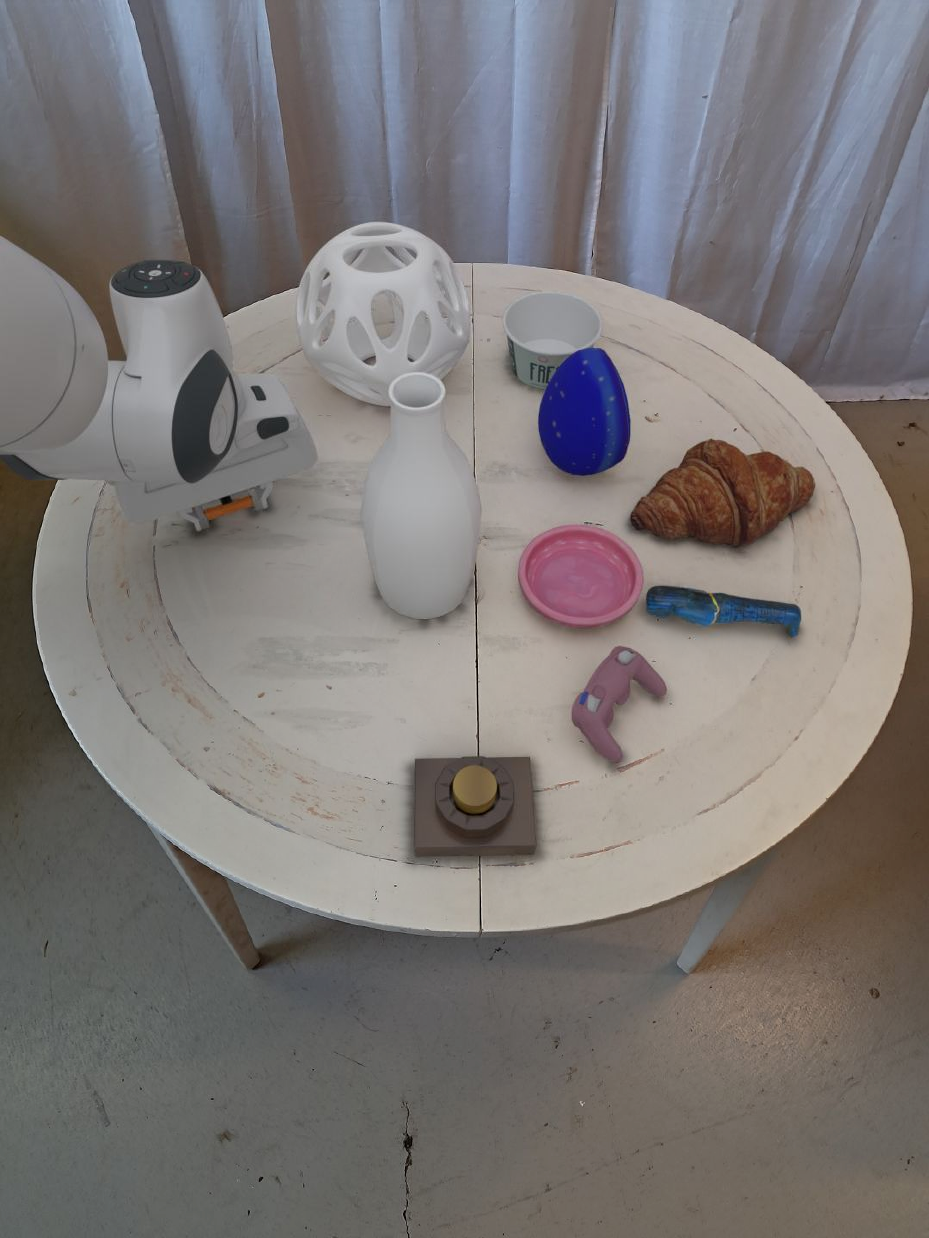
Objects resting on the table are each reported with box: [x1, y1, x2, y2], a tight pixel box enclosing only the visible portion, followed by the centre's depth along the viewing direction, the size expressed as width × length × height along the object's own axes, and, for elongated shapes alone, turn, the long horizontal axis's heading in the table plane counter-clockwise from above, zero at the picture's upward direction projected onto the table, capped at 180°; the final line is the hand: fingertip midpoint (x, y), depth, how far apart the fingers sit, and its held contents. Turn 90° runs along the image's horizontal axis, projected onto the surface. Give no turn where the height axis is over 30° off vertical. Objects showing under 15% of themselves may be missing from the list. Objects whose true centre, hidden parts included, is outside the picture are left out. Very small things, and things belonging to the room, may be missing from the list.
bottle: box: [359, 372, 483, 620], centre depth 79 cm, size 11×11×25 cm
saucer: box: [517, 523, 644, 629], centre depth 89 cm, size 12×12×3 cm
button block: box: [413, 755, 537, 858], centre depth 74 cm, size 10×8×4 cm
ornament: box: [537, 347, 632, 477], centre depth 94 cm, size 11×9×15 cm
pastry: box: [629, 438, 817, 548], centre depth 93 cm, size 17×15×8 cm
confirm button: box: [453, 765, 497, 814], centre depth 72 cm, size 4×4×2 cm
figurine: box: [645, 584, 802, 638], centre depth 87 cm, size 5×4×15 cm
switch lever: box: [203, 494, 253, 521], centre depth 93 cm, size 13×5×2 cm
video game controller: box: [570, 645, 668, 763], centre depth 80 cm, size 10×5×7 cm, turn 145°
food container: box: [501, 290, 604, 391], centre depth 107 cm, size 12×12×6 cm
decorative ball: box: [295, 221, 472, 408], centre depth 101 cm, size 20×20×17 cm
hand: (231, 515), depth 95 cm, fingers closed on switch lever, 5 cm apart
